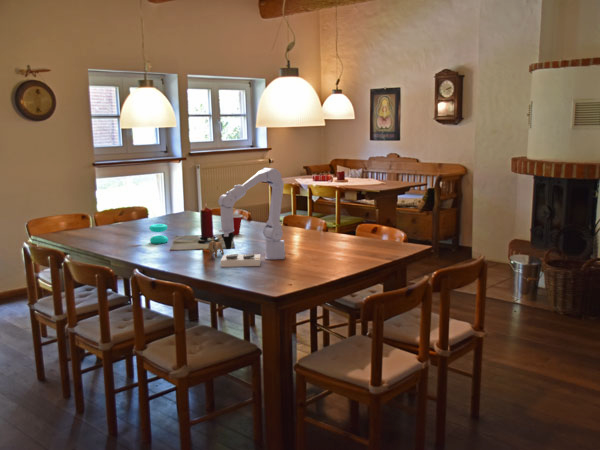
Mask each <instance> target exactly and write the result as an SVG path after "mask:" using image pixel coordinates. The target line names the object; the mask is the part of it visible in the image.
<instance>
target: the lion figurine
mask: <svg viewBox="0 0 600 450" xmlns="http://www.w3.org/2000/svg"><path fill="white" fill-rule="evenodd" d="M219 249H220V250H219ZM207 250H208V251H209V255H210V256H209V259H213V253H214V258H215V259H217V258H218V250H219V253H220V254H221V255H225V254H224V248H223V244H222V243H221V242H220V241H215V240H211V241H210V242H209V243H208V249H207Z"/></svg>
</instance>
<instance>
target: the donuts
mask: <svg viewBox="0 0 600 450" xmlns="http://www.w3.org/2000/svg"><path fill="white" fill-rule="evenodd" d="M149 230H150V231H151V232H153V233H162V232H165V231H167V230H168V225H167V224H164V223H157V224H156V223H154V224H151V225H150V226H149ZM168 241H169V238H168V236H167V235H154V236H151V238H150V239H149V242H150V243H151V244H153V245H155V244H157V245H159V244H166V243H168Z"/></svg>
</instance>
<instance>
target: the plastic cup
mask: <svg viewBox="0 0 600 450" xmlns="http://www.w3.org/2000/svg"><path fill="white" fill-rule="evenodd" d="M243 217H244V215H243V214H240V213H239V214H238V213H233V222H234V231H233V232H231V233H234V236H238V235H240V230H241V225H242V223H241V222H242V220H243Z"/></svg>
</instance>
